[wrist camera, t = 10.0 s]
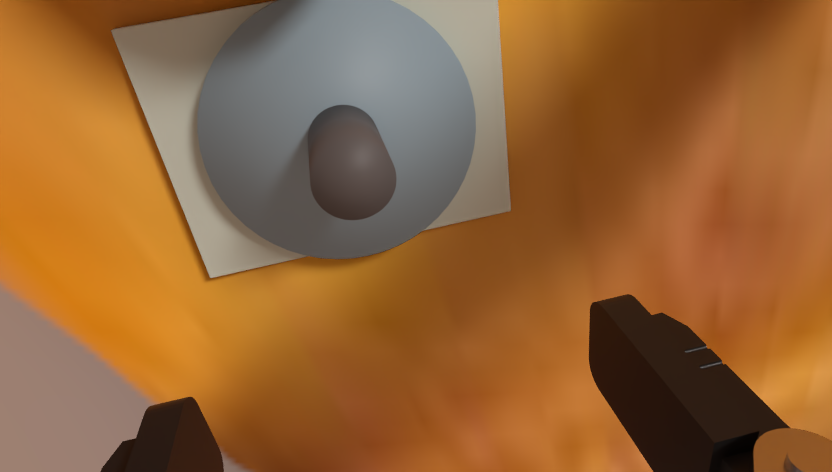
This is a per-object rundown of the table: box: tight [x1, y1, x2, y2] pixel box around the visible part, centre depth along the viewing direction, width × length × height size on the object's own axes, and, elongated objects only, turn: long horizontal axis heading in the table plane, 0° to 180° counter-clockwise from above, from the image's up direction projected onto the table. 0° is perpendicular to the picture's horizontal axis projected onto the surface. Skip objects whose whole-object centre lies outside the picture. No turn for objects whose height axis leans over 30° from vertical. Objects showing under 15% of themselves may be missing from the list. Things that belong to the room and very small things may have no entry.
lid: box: [197, 0, 476, 259], centre depth 23 cm, size 12×12×6 cm
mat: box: [111, 0, 511, 278], centre depth 25 cm, size 16×12×1 cm
